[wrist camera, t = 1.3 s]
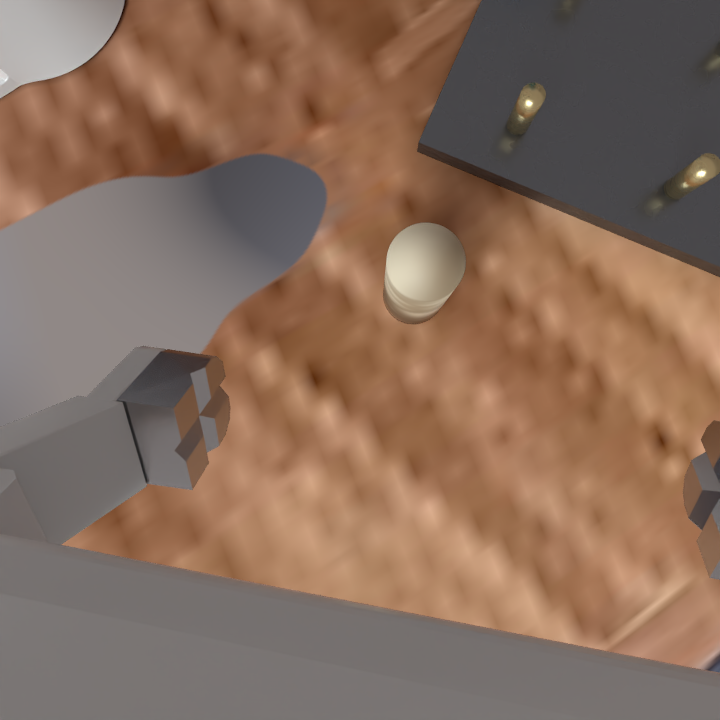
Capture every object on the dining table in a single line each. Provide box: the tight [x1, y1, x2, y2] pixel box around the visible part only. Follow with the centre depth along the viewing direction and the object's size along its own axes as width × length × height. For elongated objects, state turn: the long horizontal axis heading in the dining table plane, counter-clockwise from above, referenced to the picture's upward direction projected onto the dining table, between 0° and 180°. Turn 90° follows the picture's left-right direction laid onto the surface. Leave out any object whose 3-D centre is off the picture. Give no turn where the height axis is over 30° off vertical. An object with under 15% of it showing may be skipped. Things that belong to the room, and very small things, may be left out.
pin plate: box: [417, 0, 720, 277], centre depth 39 cm, size 24×20×6 cm
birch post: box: [383, 223, 466, 324], centre depth 36 cm, size 4×4×10 cm
